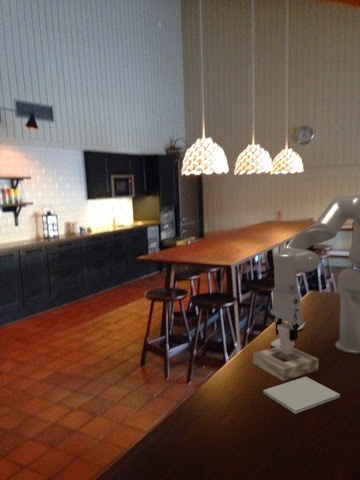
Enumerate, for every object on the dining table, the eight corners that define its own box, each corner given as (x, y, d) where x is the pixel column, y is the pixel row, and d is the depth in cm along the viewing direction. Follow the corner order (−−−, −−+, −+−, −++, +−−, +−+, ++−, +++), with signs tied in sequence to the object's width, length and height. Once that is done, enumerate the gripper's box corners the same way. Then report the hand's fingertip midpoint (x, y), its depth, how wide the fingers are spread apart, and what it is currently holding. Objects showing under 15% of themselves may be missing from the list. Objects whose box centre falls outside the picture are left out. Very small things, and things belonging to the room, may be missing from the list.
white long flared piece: (305, 328, 188) (305, 321, 188) (291, 354, 160) (291, 345, 159) (285, 326, 192) (285, 318, 192) (268, 351, 164) (268, 342, 163)
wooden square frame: (286, 354, 159) (286, 344, 159) (318, 369, 145) (318, 358, 145) (253, 363, 152) (253, 353, 151) (283, 380, 138) (283, 369, 137)
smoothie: (296, 356, 144) (296, 317, 142) (278, 355, 146) (276, 317, 144) (295, 348, 151) (294, 311, 149) (277, 348, 152) (276, 311, 150)
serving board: (305, 379, 138) (305, 376, 138) (339, 397, 126) (339, 394, 126) (263, 393, 130) (263, 390, 130) (295, 413, 118) (295, 410, 117)
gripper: (312, 290, 139) (312, 342, 142) (277, 281, 154) (278, 327, 157) (295, 294, 136) (296, 347, 138) (261, 284, 151) (262, 332, 153)
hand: (286, 336), depth 147 cm, fingers closed on smoothie, 6 cm apart
